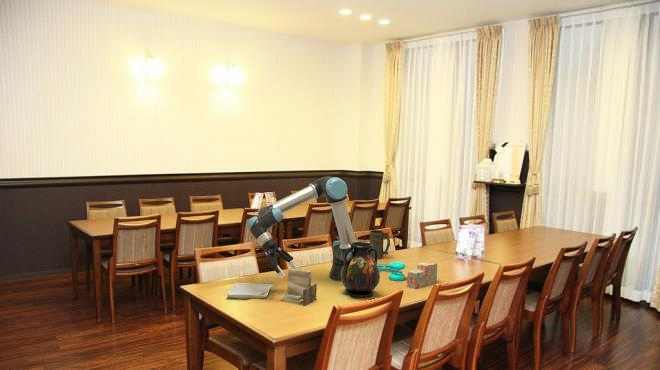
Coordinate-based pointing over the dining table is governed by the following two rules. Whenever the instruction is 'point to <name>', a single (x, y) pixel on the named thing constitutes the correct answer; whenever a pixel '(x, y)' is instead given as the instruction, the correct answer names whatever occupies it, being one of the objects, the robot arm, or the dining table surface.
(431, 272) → the stack of blocks
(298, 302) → the offcut stack
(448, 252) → the dining table surface
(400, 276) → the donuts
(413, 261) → the dining table surface
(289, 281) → the birch board
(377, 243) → the beer stein
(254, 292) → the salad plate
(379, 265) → the alien figure
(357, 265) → the amphora vase
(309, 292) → the walnut rack
